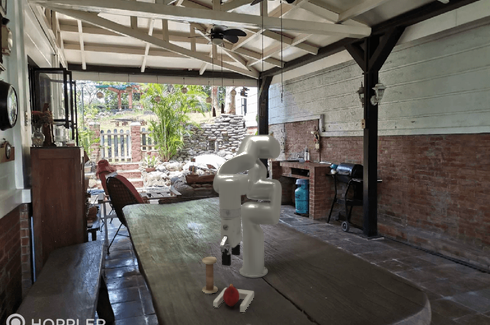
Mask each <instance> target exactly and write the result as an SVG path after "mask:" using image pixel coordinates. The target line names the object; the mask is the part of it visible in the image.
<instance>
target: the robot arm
mask: <svg viewBox="0 0 490 325" xmlns="http://www.w3.org/2000/svg"><path fill="white" fill-rule="evenodd" d="M281 148H282V147H281V143H280V142H279V140H278V139H277V138H275V137H274V136H273V135H270V134H249V135H246V136H245V137H243V139H242V140H241V143H240V145H239V147H238V150H237V152H236V155H233V156H231V157H230V158H228V159H227V160H226V161H224V162H223V163H221V164H220V165H219V167H218V168H217V170H216V172H215V175H214V178H213V182H212V186H213V190H214V191H215V192H216V193H218V199H219V203H218V205H219V206H218V207H219V209H218V210H219V218H220V244H219V246H220V254H221V265H222V266H228V267H230V266H232V256H241V242H242V266H241V267H240V268H239V269H238V270H239V275H241V276H243V277H245V278H261V277H265V276H266V275H267V274H268V268H267V267H265V234H264V231H263V228H262V227H261V225H262V226H263V225H266V226H269V225H270V226H276V225H277V224H278V223H279V222H280V217H281V209H282V207H281V206H282V191H283V190H282V188H283V187H282V183H281V182H280V181H279V180H278V179H273V178H269V179H268V178H267V173H268V170H267V167H266V166H265V164H264V163H263V162H262V161H261V159H269V160H270V159H272V160H273V159H274V160H275V159H278V158H279V157H280V156H281V151H282V150H281ZM246 171H247V172H248V173H247V174H243V172H246ZM245 195H246V197H247V198H248V199H249V200H252V201H246V202H244V203H243V204H242V196H245ZM253 200H254V201H253ZM261 201H264V202H261ZM266 201H270V202H266Z"/></svg>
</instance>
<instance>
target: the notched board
mask: <svg viewBox="0 0 490 325" xmlns="http://www.w3.org/2000/svg"><path fill="white" fill-rule="evenodd" d="M227 288H228V287H224V288H223V290H222V291H221V292H220V293H219V295H217V296H216V298H215V299H214V300H213V303H212V305H213V306H215V307H218V305H219V304H220V303H221V302H222V301H223V300H224V299H223V294H224V291H225V290H226V289H227ZM236 289H237V290H238V292H239V300H240V299H244V300H242V302H241V304H240V305H239V313H240V312H245V313H246V311H247V310H246V309H248V308H249V307H250V305H249V304H251V303H252V302H251V301H253V300H254V299H255V291H254V290H250V289H249V290H247V289H241V288H240V289H238V288H236ZM253 298H254V299H253ZM223 302H224V301H223ZM223 302H222V303H223ZM213 306H212V307H213ZM247 307H248V308H247ZM218 308H219V307H218ZM245 310H246V311H245Z"/></svg>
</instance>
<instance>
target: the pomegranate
mask: <svg viewBox="0 0 490 325" xmlns="http://www.w3.org/2000/svg"><path fill="white" fill-rule="evenodd" d="M237 289H238V288H236V287H235V286H234V284H233V283H229V286H228V287H227V289H226V290H225V291H224V294H223V299H224V301H223V302H224V303H225V304H226V305H227V306H229V307H231V306H232V307H233V306H234V305H236V304H237V303H239V301H240V299H239V292H238V290H237Z"/></svg>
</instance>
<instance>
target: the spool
mask: <svg viewBox="0 0 490 325" xmlns="http://www.w3.org/2000/svg"><path fill="white" fill-rule="evenodd" d="M201 261H202V264H205V286H204V287H202V290H201V292H202V291H203V292H205V293H214V292H217V291H219V290H218V289H219V288H218V287H217V286H215V285H214V284H215V283H214V281H215V280H214V279H215V278H214V277H215V276H214V271H215V270H214V264H216V263H217V261H218V260H217V257H215V256H205V257H203V258H201ZM217 293H218V292H217Z"/></svg>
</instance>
